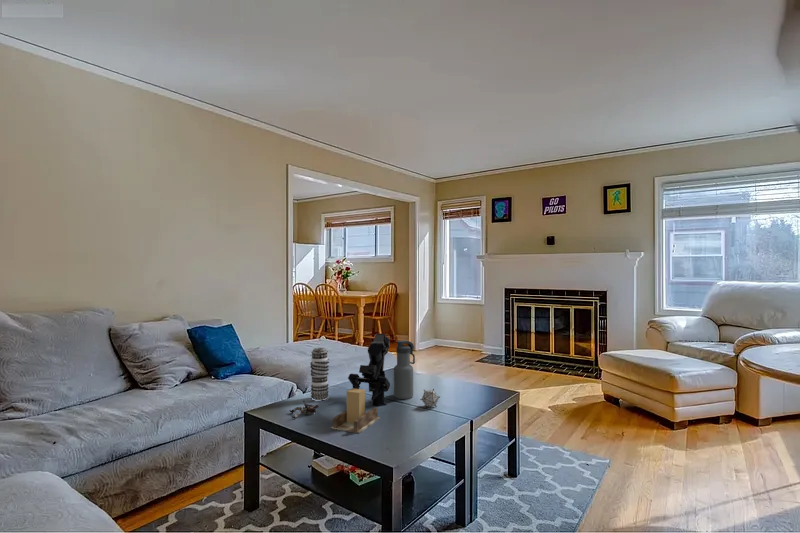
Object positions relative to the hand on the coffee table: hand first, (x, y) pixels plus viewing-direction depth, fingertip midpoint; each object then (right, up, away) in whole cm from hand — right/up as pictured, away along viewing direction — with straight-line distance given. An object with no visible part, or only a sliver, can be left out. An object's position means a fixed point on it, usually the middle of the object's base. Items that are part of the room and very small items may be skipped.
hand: (362, 398), depth 186 cm
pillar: (-2, -8, -6) cm, 10 cm away
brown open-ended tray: (-2, -9, -6) cm, 11 cm away
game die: (+30, -9, +15) cm, 35 cm away
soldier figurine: (-27, -9, +4) cm, 29 cm away
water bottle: (+18, -9, +32) cm, 38 cm away
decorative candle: (-24, -9, +29) cm, 38 cm away
